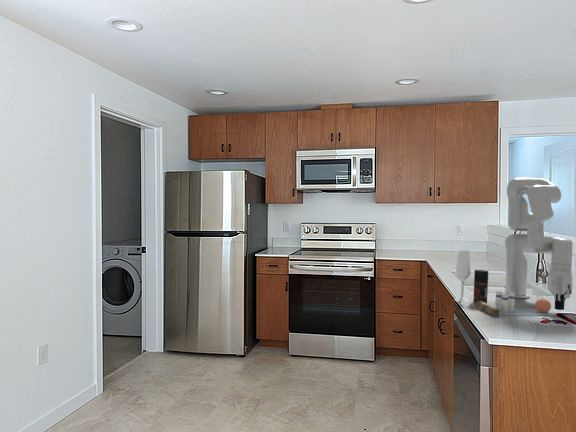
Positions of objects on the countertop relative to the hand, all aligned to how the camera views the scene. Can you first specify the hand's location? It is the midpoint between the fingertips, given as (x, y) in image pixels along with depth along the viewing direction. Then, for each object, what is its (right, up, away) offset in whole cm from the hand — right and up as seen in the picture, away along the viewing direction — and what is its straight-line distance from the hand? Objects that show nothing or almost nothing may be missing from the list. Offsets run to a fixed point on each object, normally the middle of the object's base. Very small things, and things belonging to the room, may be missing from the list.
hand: (559, 309), depth 195 cm
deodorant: (-27, -1, +17) cm, 32 cm away
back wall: (-32, -1, -1) cm, 32 cm away
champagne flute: (-34, 0, +21) cm, 40 cm away
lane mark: (-18, -1, -1) cm, 18 cm away
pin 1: (-26, -1, +1) cm, 26 cm away
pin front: (-21, -1, -1) cm, 21 cm away
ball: (-7, +2, 0) cm, 7 cm away
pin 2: (-26, -1, -4) cm, 26 cm away
